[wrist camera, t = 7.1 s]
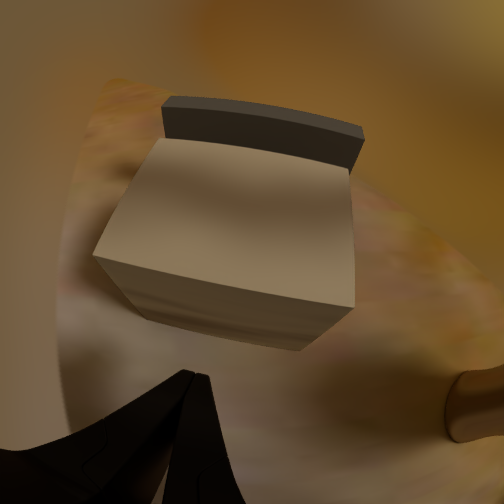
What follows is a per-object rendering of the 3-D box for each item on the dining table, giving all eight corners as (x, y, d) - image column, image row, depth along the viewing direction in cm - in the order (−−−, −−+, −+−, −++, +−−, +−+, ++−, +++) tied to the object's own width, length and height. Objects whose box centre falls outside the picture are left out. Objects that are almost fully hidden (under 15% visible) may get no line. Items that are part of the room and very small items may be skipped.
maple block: (299, 351, 16) (354, 307, 9) (146, 319, 16) (92, 254, 9) (309, 252, 19) (348, 168, 12) (178, 228, 19) (159, 137, 12)
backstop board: (327, 222, 21) (364, 139, 14) (175, 194, 21) (161, 106, 14) (327, 207, 21) (361, 126, 14) (181, 181, 22) (170, 95, 15)
